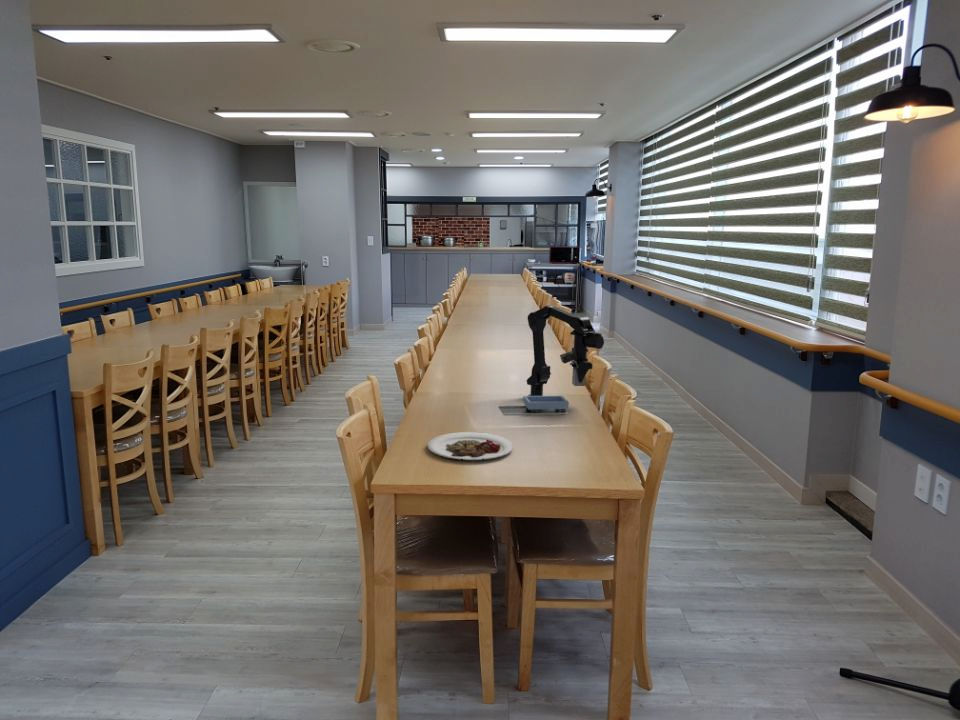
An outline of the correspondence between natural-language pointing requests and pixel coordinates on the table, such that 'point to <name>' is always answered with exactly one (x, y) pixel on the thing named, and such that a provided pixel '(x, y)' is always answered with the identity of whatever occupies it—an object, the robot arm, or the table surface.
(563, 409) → the cart
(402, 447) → the table surface
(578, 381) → the steel block
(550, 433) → the table surface
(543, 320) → the robot arm
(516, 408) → the track
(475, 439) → the plated food
